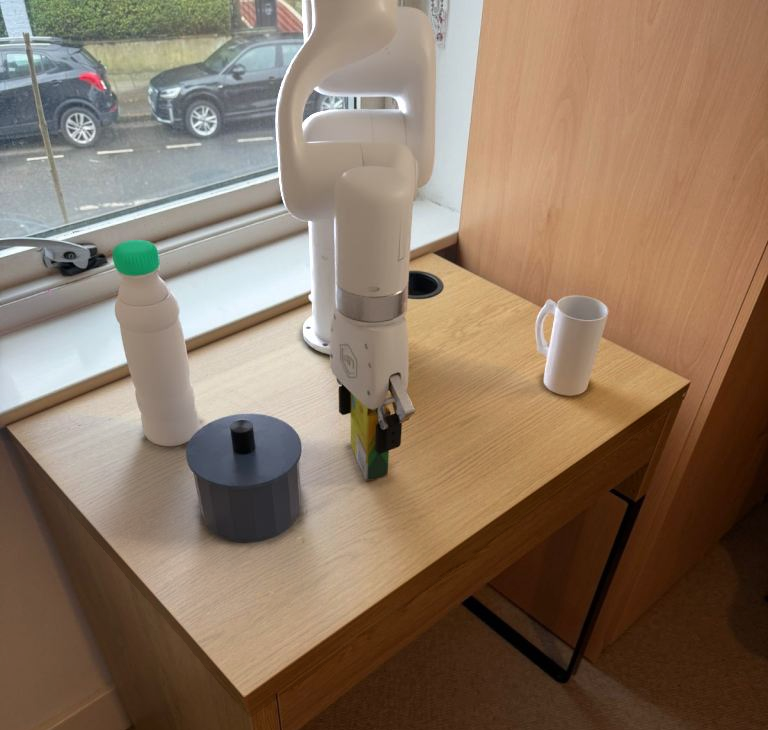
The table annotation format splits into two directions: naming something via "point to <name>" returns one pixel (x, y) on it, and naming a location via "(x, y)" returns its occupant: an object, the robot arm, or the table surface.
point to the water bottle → (154, 346)
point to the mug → (571, 342)
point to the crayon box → (367, 440)
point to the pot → (251, 508)
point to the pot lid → (243, 451)
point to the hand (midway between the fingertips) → (369, 428)
